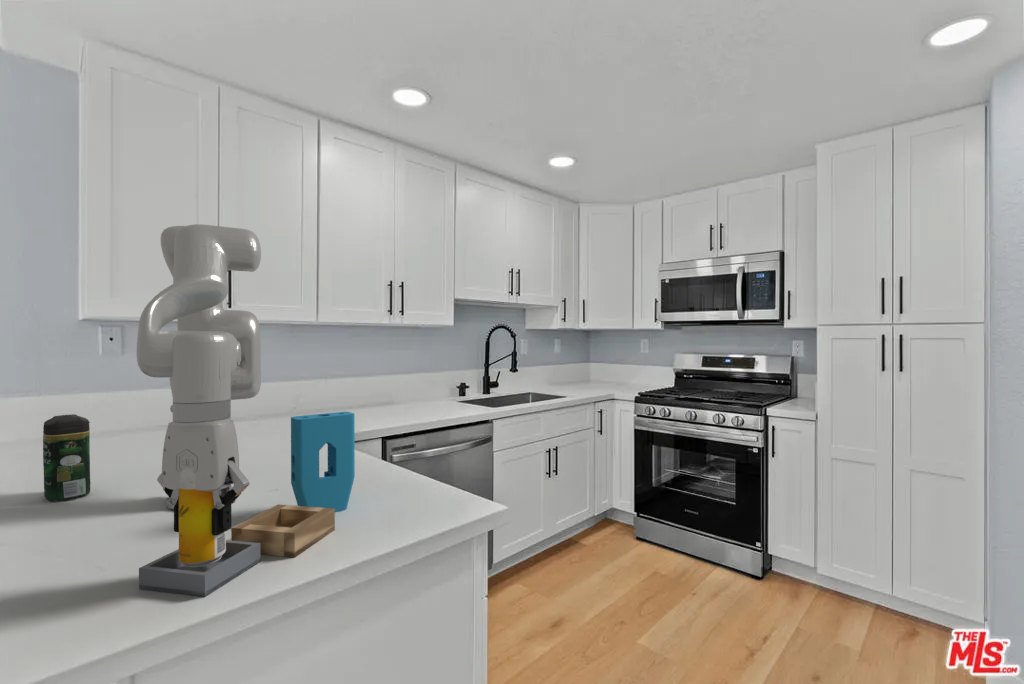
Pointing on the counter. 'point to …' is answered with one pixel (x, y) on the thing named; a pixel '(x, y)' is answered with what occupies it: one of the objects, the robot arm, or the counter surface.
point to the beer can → (197, 524)
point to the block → (305, 448)
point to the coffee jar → (66, 457)
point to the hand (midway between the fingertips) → (203, 529)
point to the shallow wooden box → (286, 529)
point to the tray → (199, 571)
